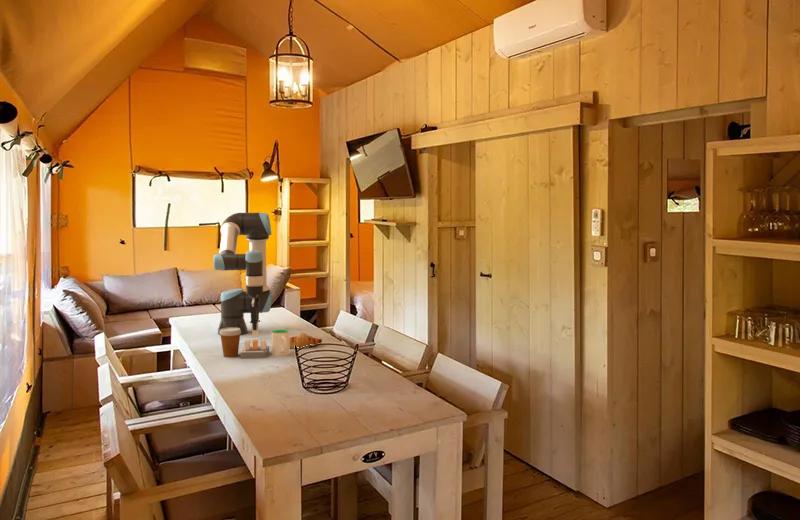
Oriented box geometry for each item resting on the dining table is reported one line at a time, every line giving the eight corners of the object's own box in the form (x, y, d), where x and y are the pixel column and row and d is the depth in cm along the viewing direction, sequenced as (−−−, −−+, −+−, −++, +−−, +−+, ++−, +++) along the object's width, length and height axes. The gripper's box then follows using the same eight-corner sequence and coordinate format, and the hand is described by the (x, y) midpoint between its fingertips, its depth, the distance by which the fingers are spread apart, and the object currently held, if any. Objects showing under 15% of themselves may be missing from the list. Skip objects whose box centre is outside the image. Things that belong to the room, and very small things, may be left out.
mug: (295, 356, 267) (295, 333, 266) (278, 358, 263) (278, 335, 262) (286, 350, 277) (285, 328, 276) (269, 352, 273) (269, 330, 272)
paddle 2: (253, 348, 270) (253, 339, 270) (258, 348, 270) (258, 339, 270) (252, 349, 267) (252, 341, 267) (257, 349, 267) (257, 341, 267)
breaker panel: (245, 352, 274) (245, 346, 274) (269, 351, 275) (269, 345, 275) (240, 358, 262) (240, 352, 262) (266, 358, 264) (266, 351, 263)
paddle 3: (261, 348, 270) (261, 339, 270) (265, 348, 271) (265, 339, 270) (260, 349, 268) (260, 341, 267) (265, 349, 268) (265, 341, 267)
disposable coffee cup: (235, 358, 262) (235, 331, 261) (215, 357, 264) (215, 330, 263) (245, 353, 272) (244, 327, 271) (226, 352, 273) (225, 326, 272)
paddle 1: (245, 348, 270) (245, 339, 269) (250, 348, 270) (250, 339, 270) (244, 350, 267) (244, 341, 266) (249, 349, 267) (249, 341, 267)
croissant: (279, 356, 280) (279, 343, 276) (276, 343, 288) (277, 330, 284) (323, 352, 287) (324, 339, 283) (319, 339, 295) (320, 326, 291)
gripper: (248, 283, 272) (249, 333, 274) (243, 287, 259) (244, 340, 261) (264, 283, 273) (265, 333, 275) (261, 286, 260) (261, 339, 262)
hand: (255, 336), depth 268 cm, fingers closed
